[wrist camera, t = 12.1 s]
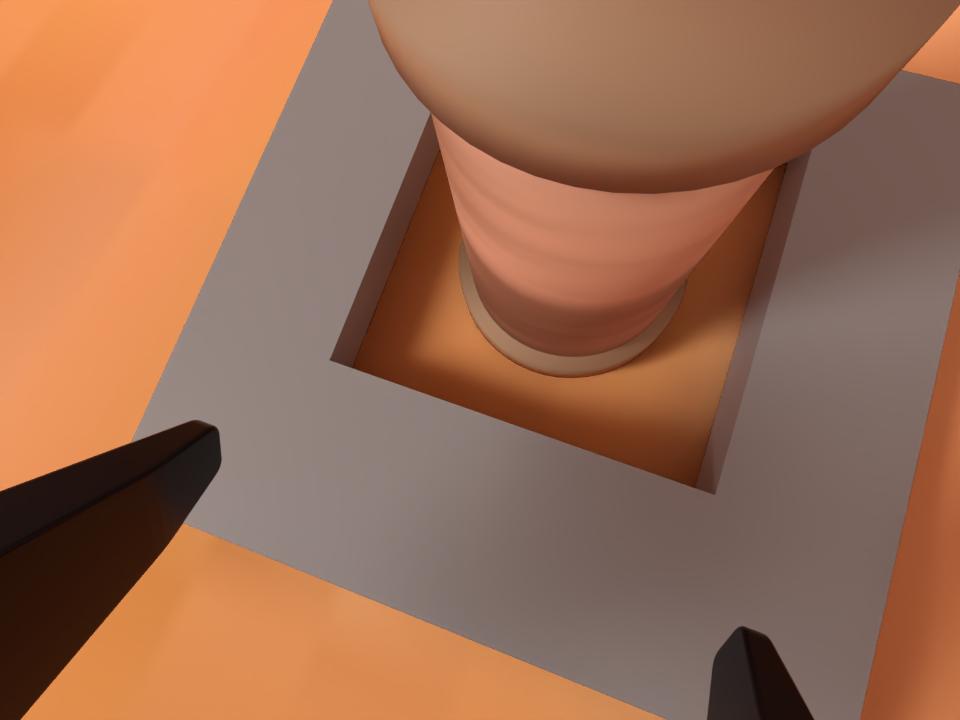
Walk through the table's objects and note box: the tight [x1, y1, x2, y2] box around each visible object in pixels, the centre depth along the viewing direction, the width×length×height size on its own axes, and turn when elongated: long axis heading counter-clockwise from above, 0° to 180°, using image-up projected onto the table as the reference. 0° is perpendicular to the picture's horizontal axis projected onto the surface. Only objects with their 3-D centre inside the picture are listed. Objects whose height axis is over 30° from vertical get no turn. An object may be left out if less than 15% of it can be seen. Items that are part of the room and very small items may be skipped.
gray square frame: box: [131, 0, 960, 720], centre depth 18 cm, size 19×20×2 cm
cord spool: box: [368, 0, 960, 378], centre depth 12 cm, size 7×7×13 cm
